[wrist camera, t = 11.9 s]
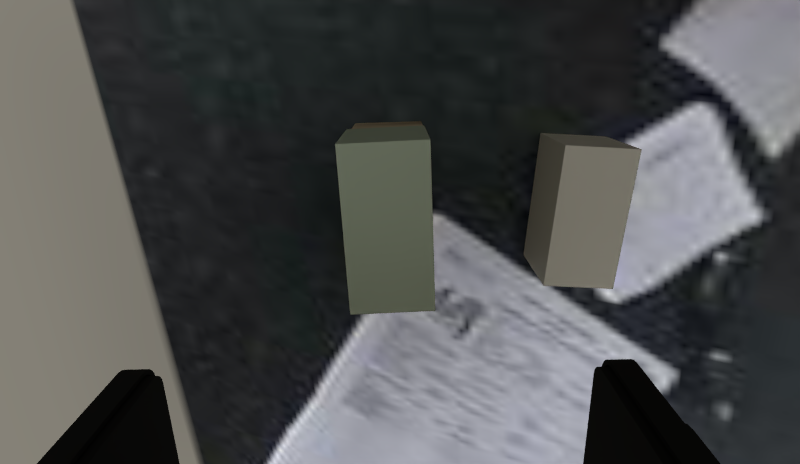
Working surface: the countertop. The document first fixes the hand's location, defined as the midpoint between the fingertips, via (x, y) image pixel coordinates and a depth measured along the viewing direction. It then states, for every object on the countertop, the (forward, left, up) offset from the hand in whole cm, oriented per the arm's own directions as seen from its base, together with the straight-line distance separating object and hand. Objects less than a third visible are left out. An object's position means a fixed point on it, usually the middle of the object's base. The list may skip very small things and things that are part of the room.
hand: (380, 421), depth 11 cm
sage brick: (0, 0, -17) cm, 17 cm away
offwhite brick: (+1, +11, -22) cm, 25 cm away
